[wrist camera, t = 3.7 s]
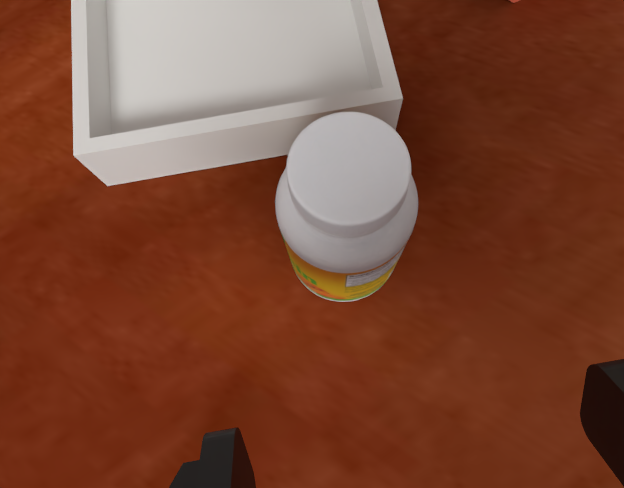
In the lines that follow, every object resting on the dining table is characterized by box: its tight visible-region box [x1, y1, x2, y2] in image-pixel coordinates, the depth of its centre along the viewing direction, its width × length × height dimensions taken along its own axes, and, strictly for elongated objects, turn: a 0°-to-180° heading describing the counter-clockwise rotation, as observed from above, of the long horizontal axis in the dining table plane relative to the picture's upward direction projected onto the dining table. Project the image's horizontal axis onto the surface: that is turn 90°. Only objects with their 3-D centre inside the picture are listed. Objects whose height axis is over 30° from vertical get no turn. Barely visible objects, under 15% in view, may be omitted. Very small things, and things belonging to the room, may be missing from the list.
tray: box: [71, 0, 403, 186], centre depth 26 cm, size 16×16×4 cm
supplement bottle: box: [275, 112, 418, 302], centre depth 19 cm, size 5×5×10 cm
